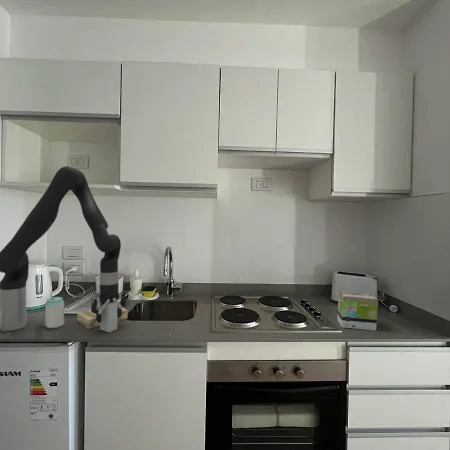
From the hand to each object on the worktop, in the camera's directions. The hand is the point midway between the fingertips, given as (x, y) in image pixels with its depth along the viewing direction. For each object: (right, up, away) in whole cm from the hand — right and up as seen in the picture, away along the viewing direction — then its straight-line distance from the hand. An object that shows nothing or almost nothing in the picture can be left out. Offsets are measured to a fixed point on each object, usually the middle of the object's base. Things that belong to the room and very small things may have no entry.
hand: (109, 319), depth 129 cm
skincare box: (0, -4, 0) cm, 5 cm away
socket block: (-7, -4, +11) cm, 13 cm away
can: (-24, -4, +2) cm, 25 cm away
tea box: (+110, -7, +12) cm, 111 cm away
